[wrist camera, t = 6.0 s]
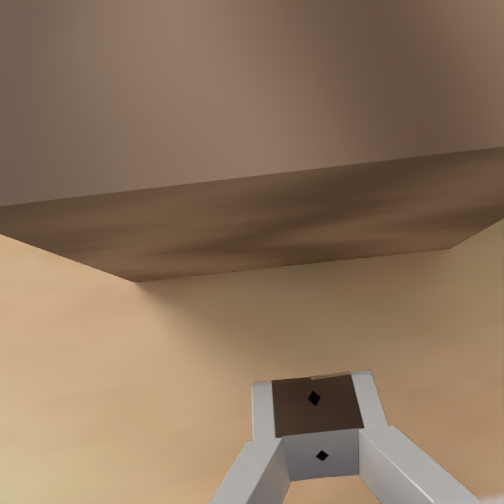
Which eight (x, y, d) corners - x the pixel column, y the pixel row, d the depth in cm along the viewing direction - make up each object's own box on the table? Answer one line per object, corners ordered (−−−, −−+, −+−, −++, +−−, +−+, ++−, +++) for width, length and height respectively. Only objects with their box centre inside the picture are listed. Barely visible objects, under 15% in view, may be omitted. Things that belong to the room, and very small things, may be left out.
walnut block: (134, 282, 18) (-59, 212, 8) (122, 13, 20) (-38, -298, 10) (448, 249, 17) (664, 127, 7) (398, -27, 19) (510, -404, 9)
